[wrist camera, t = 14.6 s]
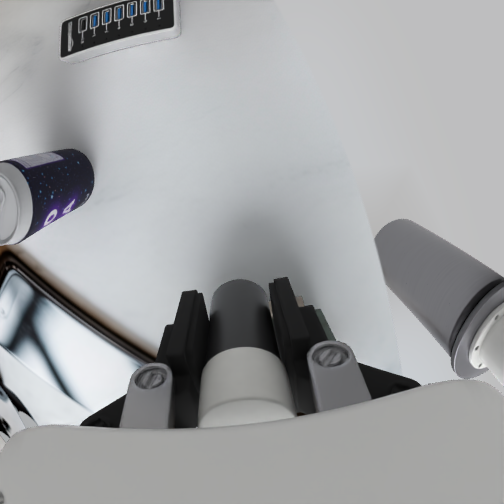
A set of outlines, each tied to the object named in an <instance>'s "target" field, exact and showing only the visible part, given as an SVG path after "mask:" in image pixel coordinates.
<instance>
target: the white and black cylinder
mask: <svg viewBox="0 0 504 504" xmlns="http://www.w3.org/2000/svg"><path fill="white" fill-rule="evenodd" d="M292 417H297V412H296V408H295V404H294V399H293V395H292V391H291V386H290V382H289V378H288V374H287V371H286V367H285V365H284V364H283V362H282V361H281V357H280V353H279V348H278V344H277V339H276V335H275V330H274V326H273V321H272V317H271V312H270V308H269V303H268V299H267V296H266V293H265V292H264V290H263V289H262V288H261V287H260V286H259V285H257V284H256V283H254V282H252V281H249V280H243V279H237V280H231V281H228V282H226V283H224V284H223V285H221V286H220V287H219V288H218V289H217V290H216V291H215V293H214V295H213V297H212V301H211V310H210V320H209V331H208V342H207V354H206V365H205V367H204V369H203V371H202V375H201V385H200V396H199V408H198V421H197V425H198V428H205V427H219V426H231V425H241V424H250V423H258V422H266V421H273V420H279V419H286V418H292Z"/></svg>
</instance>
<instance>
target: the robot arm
mask: <svg viewBox="0 0 504 504" xmlns="http://www.w3.org/2000/svg"><path fill="white" fill-rule="evenodd" d="M269 291H270V299H271V308H272V316H273V325H274V330H275V335H276V339H277V344H278V348H279V353H280V357H281V361H282V362H283V364H284V365H285V367H286V371H287V374H288V378H289V382H290V386H291V391H292V395H293V399H294V404H295V408H296V412H297V413H299V412H302V413H304V414H307V415H303V416H298V417H292V418H286V419H279V420H273V421H266V422H258V423H250V424H241V425H231V426H219V427H205V428H196V427H197V426H198V425H197V421H198V408H199V396H200V385H201V375H202V371H203V369H204V367H205V365H206V354H207V342H208V331H209V319H208V314H207V310H206V306H205V302H204V297H203V294H202V293H198V292H197V290H192V291H184V292H182V295H181V299H180V302H179V306H178V310H177V313H176V317H175V321H174V324H171V325H166V327H165V330H164V333H163V337H162V340H161V344H160V347H159V350H158V354H157V358H156V361H155V363H151V364H147V365H144V366H142V367H140V368H139V369H137V370H136V371H135V372H134V373H133V374H132V377H131V379H130V383H129V387H128V391H127V394H125V395H124V396H122V397H121V398H119V399H117V400H116V401H114V402H112V403H111V404H109V405H108V406H106V407H104V408H103V409H101V410H99V411H98V412H96V413H94V414H93V415H91V416H89V417H88V418H87V419H85V420H84V421H83V422H82V423H81V425H80V426H74V425H41V426H36V427H31V428H27V429H24V430H21V431H19V432H17V433H15V434H14V435H13V436H12V437H11V438H10V439H9V440H8V441H7V443H6V444H5V446H4V447H3V449H2V450H1V452H0V504H504V396H503V395H502V394H501V393H500V392H499V391H498V390H497V389H495V388H494V387H493V386H491V385H489V384H488V383H485V382H482V381H478V380H467V379H465V380H450V381H443V382H438V383H432V384H428V385H424V386H421V385H420V384H419V383H418V382H417V381H415V380H412V379H410V378H406V377H403V376H400V375H396V374H393V373H389V372H386V371H383V370H380V369H377V368H373V367H370V366H367V365H364V364H361V363H358V362H357V361H356V358H355V356H354V353H353V351H352V349H351V348H350V347H349V346H348V345H346V344H345V343H342V342H340V341H333V340H332V341H329V340H328V338H327V336H326V333H325V331H324V329H323V327H322V324H321V322H320V320H319V318H318V316H317V313H316V311H315V309H314V307H313V305H309V306H303V307H299V306H298V303H297V301H296V298H295V295H294V293H293V290H292V288H291V285H290V282H289V280H288V277H284V278H277V279H274V283H269ZM469 362H470V363H471V364H472V366H473V367H474V368H477V369H482V368H485V367H487V368H488V369H489V370H490V371H491V372H492V374H493V375H494V376H495V377H496V378H497V379H498V381H499V382H500V383H501V384H502V385H503V387H504V302H503V303H502V304H500V305H499V306H498V307H497V308H495V309H494V310H493V311H492V312H491V313H490V314H489V316H488V317H487V318H486V319H485V321H484V322H483V323H482V325H481V326H480V328H479V329H478V331H477V333H476V334H475V337H474V339H473V341H472V343H471V346H470V350H469Z"/></svg>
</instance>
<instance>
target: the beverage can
mask: <svg viewBox="0 0 504 504" xmlns="http://www.w3.org/2000/svg"><path fill="white" fill-rule="evenodd" d="M93 187H94V172H93V168H92V165H91V163H90V161H89V160H88V158H87V157H86V156H85V155H84V154H83V153H81V152H80V151H78V150H75V149H64V150H58V151H52V152H46V153H40V154H34V155H29V156H24V157H19V158H14V159H9V160H5V161H0V246H1V245H6V244H9V245H13V244H18V243H20V242H22V241H23V240H25V239H26V238H28V237H29V236H31V235H32V234H34V233H36V232H37V231H39V230H41V229H42V228H44V227H45V226H47V225H49V224H50V223H52V222H54V221H55V220H57V219H59V218H61V217H62V216H64V215H66V214H67V213H69V212H71V211H73V210H75V209H76V208H78V207H80V206H82V205H83V204H84V203H85V202H86V201H87V200H88V199H89V197H90V195H91V193H92V190H93Z"/></svg>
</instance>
